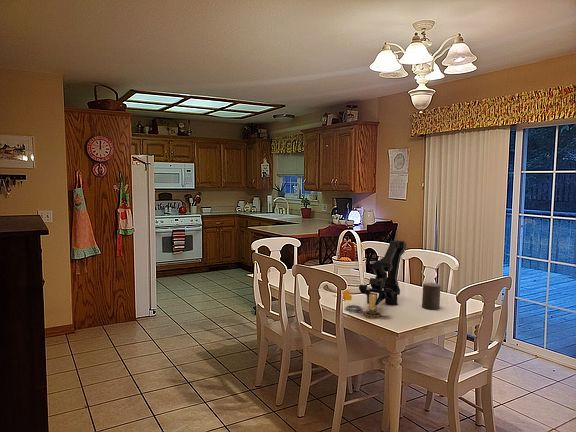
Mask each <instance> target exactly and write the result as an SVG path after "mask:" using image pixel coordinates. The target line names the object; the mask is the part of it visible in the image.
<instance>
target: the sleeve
mask: <svg viewBox="0 0 576 432" xmlns="http://www.w3.org/2000/svg"><path fill="white" fill-rule="evenodd" d="M377 299H378V293H374V292H371V293H369V304H368V310H367V311H368V315H377V312H378V305H377V306H376V301H377Z"/></svg>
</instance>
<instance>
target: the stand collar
mask: <svg viewBox="0 0 576 432" xmlns="http://www.w3.org/2000/svg"><path fill="white" fill-rule="evenodd" d="M368 311H369V310H367V311H364V313H363V315H364V318H367V319H371V320H372V319H373V320H375V319H381V318H382V313H381V312H379V311H377V315H368Z"/></svg>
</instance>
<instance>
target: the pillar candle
mask: <svg viewBox="0 0 576 432" xmlns="http://www.w3.org/2000/svg"><path fill="white" fill-rule="evenodd" d="M440 305H441V284H440V283H435V282H424V283H423V284H422V301H421V308H423V309H424V310H425V309H426V310H430V311H438V310H440Z"/></svg>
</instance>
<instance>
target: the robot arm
mask: <svg viewBox="0 0 576 432" xmlns="http://www.w3.org/2000/svg"><path fill="white" fill-rule="evenodd" d="M406 249H407V242H406V241H404V240H396V239H395V240H390V241H389V244H388V247H387V249H386V252H385V254H384V257H381V258H380V259H376V261H374V262H373V263H372V264H371V268H372V271H373V273H374V275H375V278H374V277H370V278H369V282H368V284H369V285H370V287H369V286H368V285H367V284H359V285H358V290H359V292H360V294H362V295H366V303H367V305H369V293H376V294H378V295H377V301H376V306H377V307H378V305H380V303H381V302H383V301H384V303H385V305H389V306H398V304H399V303H398V296H400V294H401V288H400V286H399V281H398V273H399V268H400V262H401V257H402V255H403V254H404V253H405V252H406ZM388 273H389V274H388Z"/></svg>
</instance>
